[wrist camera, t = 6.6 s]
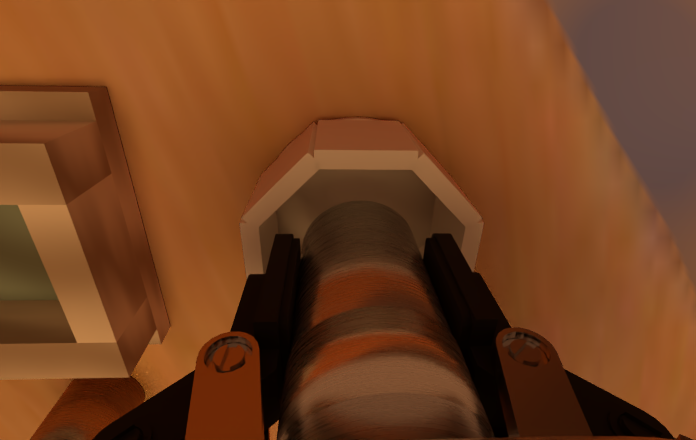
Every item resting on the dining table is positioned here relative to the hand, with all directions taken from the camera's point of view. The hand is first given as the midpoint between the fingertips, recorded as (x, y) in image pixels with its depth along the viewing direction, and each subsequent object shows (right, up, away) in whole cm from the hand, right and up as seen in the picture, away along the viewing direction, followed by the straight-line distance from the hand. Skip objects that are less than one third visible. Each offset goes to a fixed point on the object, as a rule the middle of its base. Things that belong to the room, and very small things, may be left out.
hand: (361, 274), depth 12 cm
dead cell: (0, +1, +1) cm, 1 cm away
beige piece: (0, +2, +5) cm, 5 cm away
